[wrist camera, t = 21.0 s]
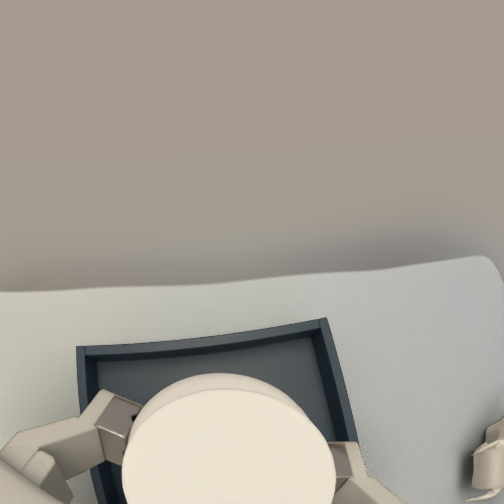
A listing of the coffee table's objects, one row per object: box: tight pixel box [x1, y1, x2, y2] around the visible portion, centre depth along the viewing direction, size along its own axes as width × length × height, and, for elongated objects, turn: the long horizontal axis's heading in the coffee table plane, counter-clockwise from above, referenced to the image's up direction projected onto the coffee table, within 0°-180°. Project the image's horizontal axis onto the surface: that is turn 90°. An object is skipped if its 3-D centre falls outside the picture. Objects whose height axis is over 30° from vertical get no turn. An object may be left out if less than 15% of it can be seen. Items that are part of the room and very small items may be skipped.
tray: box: [76, 317, 360, 504], centre depth 14 cm, size 15×11×2 cm
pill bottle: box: [122, 373, 336, 504], centre depth 8 cm, size 5×5×10 cm
